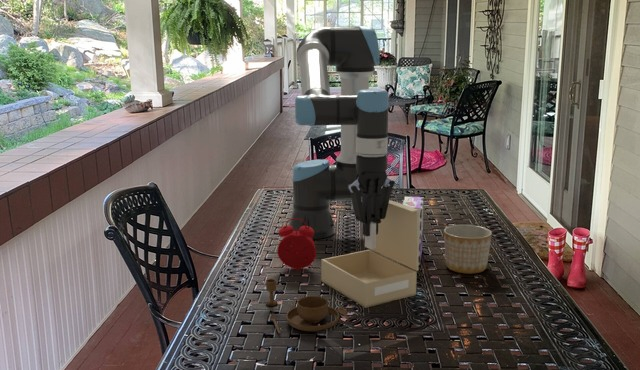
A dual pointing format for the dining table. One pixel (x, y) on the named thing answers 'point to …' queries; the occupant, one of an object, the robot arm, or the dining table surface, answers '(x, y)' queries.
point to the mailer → (368, 278)
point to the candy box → (418, 204)
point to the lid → (399, 235)
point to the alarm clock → (296, 246)
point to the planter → (467, 248)
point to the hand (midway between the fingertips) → (370, 247)
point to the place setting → (305, 311)
